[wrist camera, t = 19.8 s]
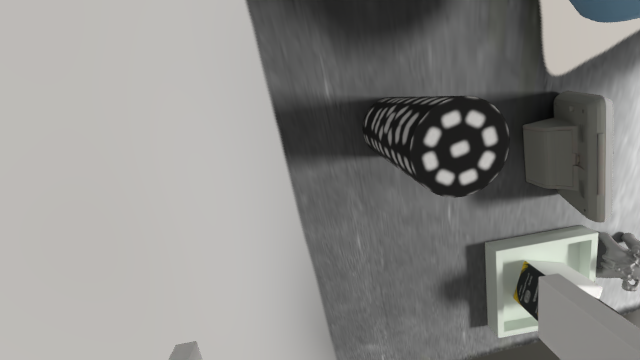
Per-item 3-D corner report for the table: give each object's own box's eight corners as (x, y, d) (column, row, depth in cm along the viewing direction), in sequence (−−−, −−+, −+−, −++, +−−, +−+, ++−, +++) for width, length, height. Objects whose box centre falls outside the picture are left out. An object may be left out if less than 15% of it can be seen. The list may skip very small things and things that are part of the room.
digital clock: (567, 197, 49) (637, 223, 39) (511, 200, 49) (567, 227, 39) (586, 90, 45) (670, 88, 35) (525, 92, 45) (592, 90, 34)
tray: (484, 242, 50) (496, 251, 47) (581, 224, 51) (598, 232, 48) (487, 325, 55) (498, 337, 52) (577, 308, 55) (592, 320, 52)
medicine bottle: (522, 259, 50) (588, 307, 39) (563, 262, 51) (641, 310, 39) (511, 297, 52) (571, 354, 41) (551, 300, 53) (621, 357, 41)
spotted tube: (409, 87, 44) (496, 79, 24) (427, 142, 46) (519, 174, 26) (354, 111, 44) (395, 121, 25) (374, 164, 46) (427, 212, 27)
